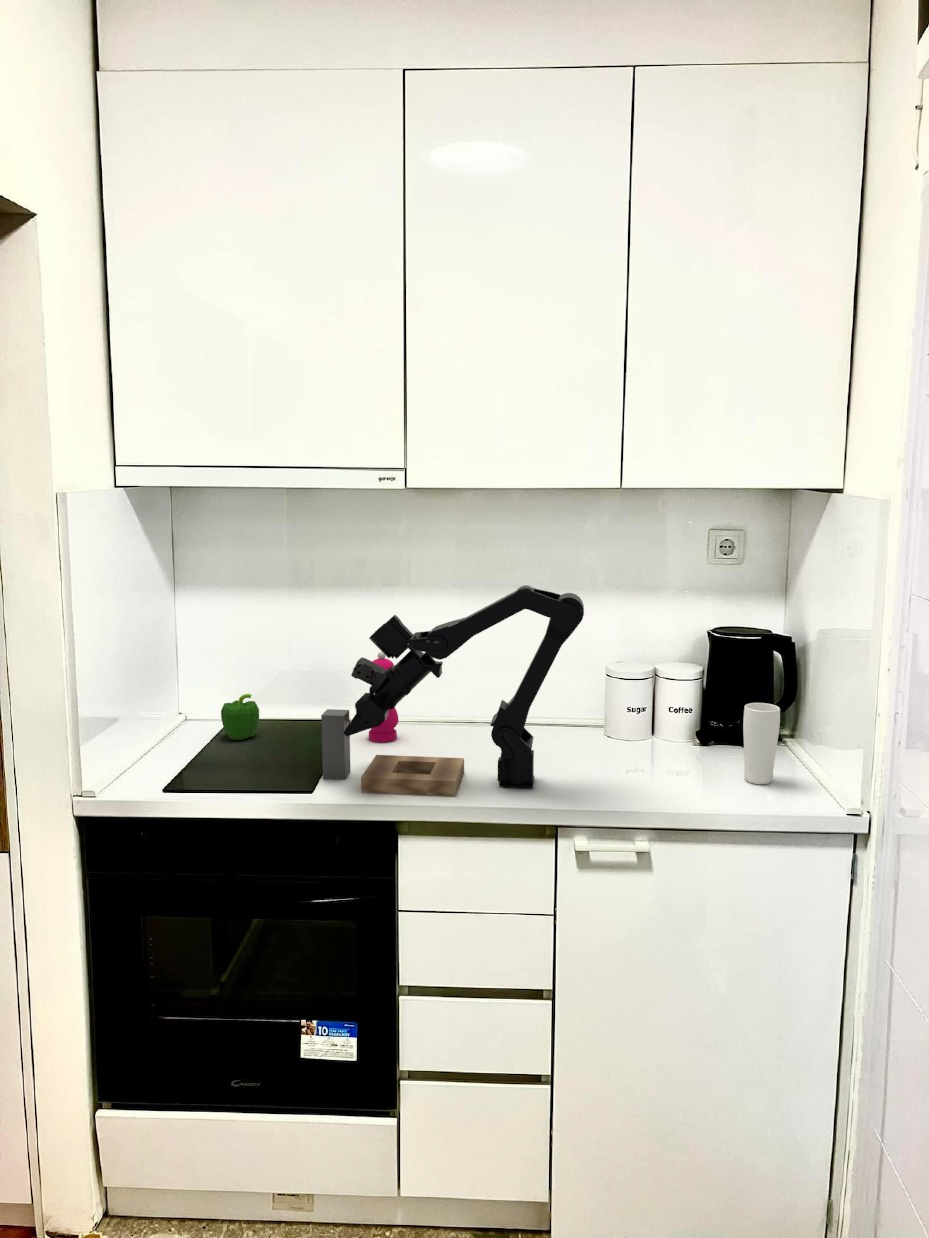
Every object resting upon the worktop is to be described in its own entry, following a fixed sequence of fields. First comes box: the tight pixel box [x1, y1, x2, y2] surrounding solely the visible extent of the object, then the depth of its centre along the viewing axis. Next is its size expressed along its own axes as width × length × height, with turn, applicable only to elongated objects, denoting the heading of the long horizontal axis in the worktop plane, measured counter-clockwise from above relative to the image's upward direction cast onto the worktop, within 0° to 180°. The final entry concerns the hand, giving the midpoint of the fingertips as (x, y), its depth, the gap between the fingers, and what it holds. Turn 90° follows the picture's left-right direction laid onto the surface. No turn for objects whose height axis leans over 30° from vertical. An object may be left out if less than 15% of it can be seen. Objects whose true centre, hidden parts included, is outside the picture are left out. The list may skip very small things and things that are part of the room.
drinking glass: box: [742, 702, 781, 785], centre depth 189 cm, size 7×7×15 cm
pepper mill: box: [368, 651, 399, 744], centre depth 216 cm, size 7×7×20 cm
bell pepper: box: [220, 693, 260, 741], centre depth 218 cm, size 8×8×10 cm
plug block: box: [320, 708, 351, 781], centre depth 192 cm, size 4×4×13 cm
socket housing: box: [360, 754, 465, 797], centre depth 189 cm, size 18×14×3 cm
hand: (350, 727), depth 191 cm, fingers open, 9 cm apart
